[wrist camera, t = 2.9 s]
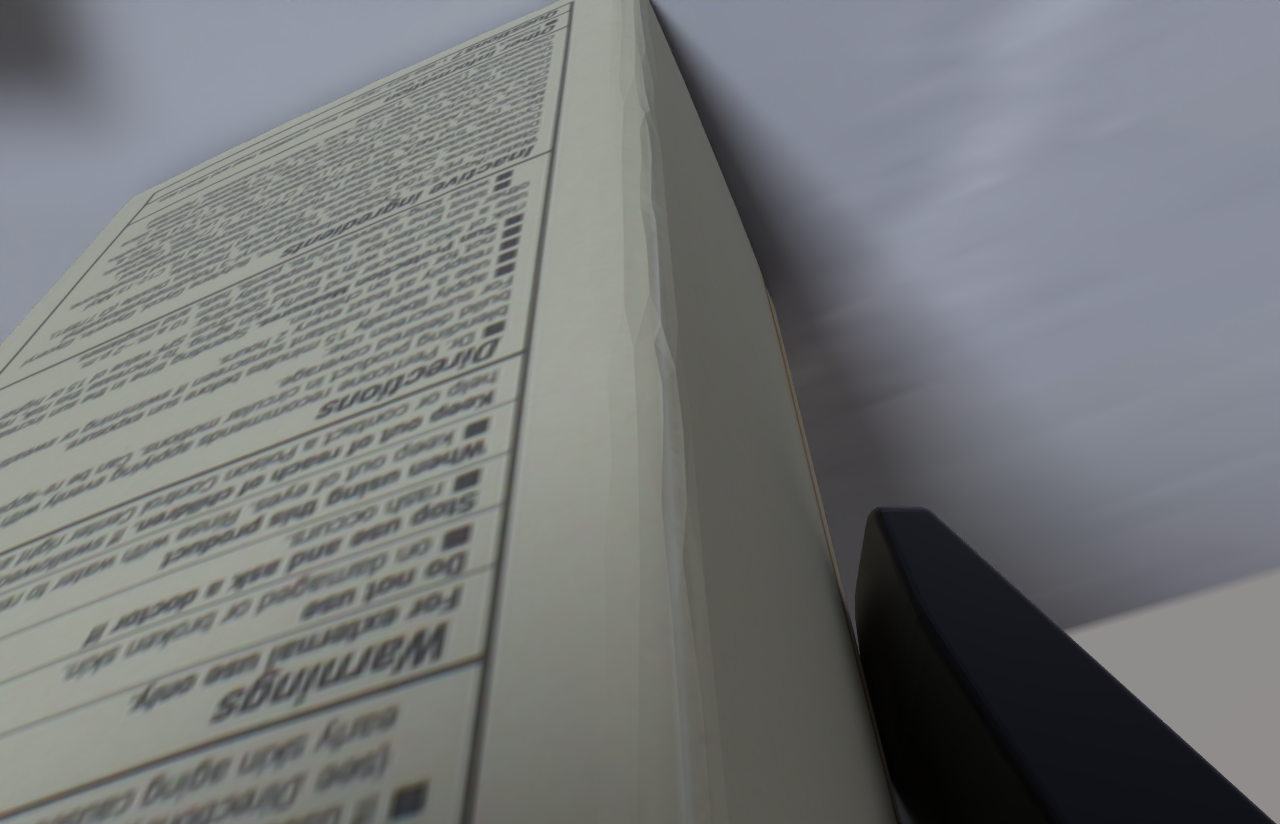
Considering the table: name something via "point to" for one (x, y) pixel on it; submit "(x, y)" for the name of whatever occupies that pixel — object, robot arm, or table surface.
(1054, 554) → the table surface
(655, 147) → the skincare box
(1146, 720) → the robot arm
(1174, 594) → the table surface
